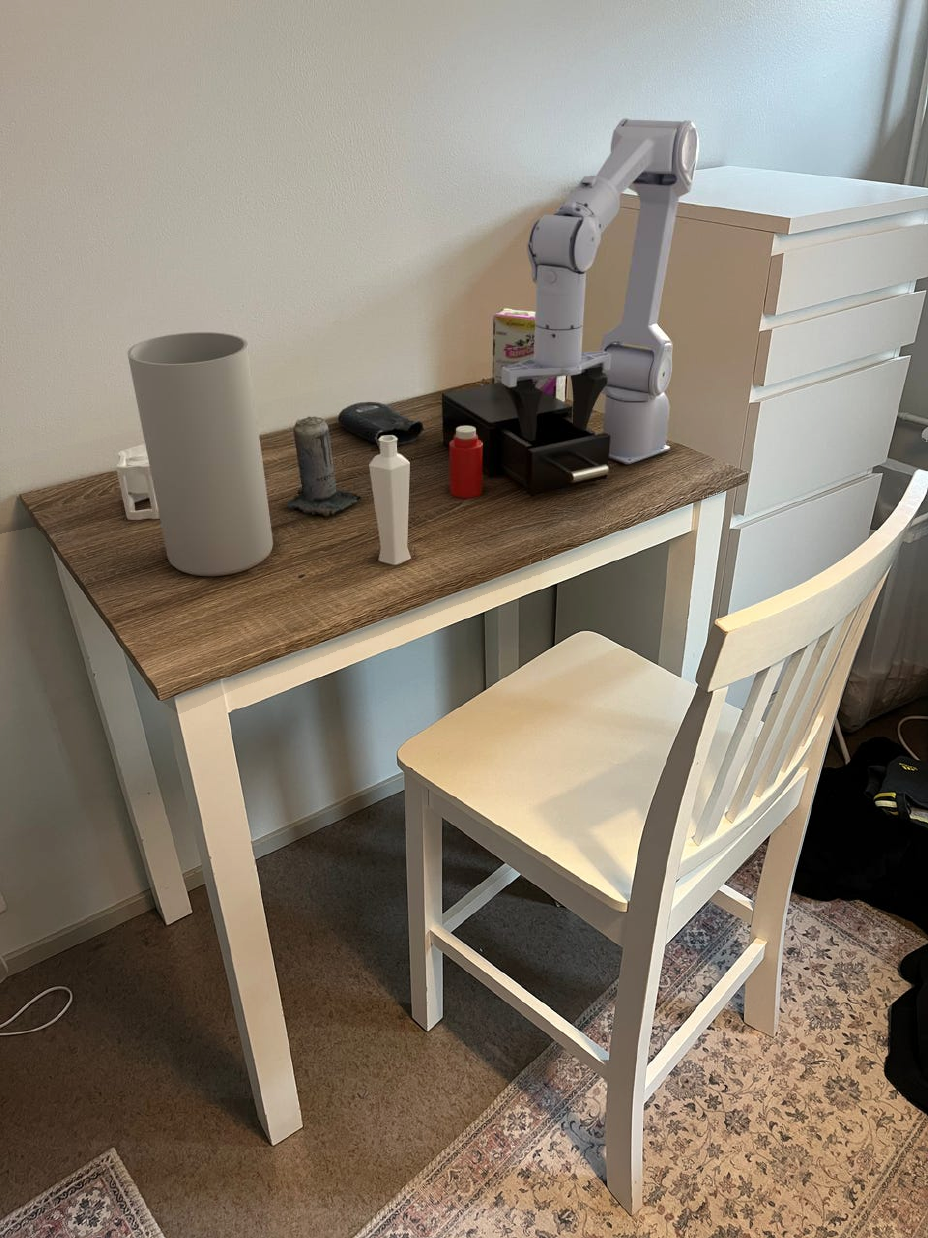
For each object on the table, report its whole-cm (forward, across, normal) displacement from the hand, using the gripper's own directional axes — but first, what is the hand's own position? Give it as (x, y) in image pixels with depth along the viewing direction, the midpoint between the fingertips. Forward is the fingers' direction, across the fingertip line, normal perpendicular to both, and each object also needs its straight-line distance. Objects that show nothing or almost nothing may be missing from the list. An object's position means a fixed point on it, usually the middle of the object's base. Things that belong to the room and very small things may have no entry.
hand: (554, 432), depth 120 cm
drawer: (+9, +5, +7) cm, 13 cm away
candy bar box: (+11, +16, +32) cm, 37 cm away
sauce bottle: (+10, -7, +10) cm, 16 cm away
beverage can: (+11, -26, +15) cm, 32 cm away
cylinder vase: (+10, -42, +8) cm, 44 cm away
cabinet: (+10, +4, +20) cm, 23 cm away
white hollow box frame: (+10, -41, +27) cm, 50 cm away
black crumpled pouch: (+11, -9, +37) cm, 40 cm away
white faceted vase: (+10, -24, -3) cm, 26 cm away
